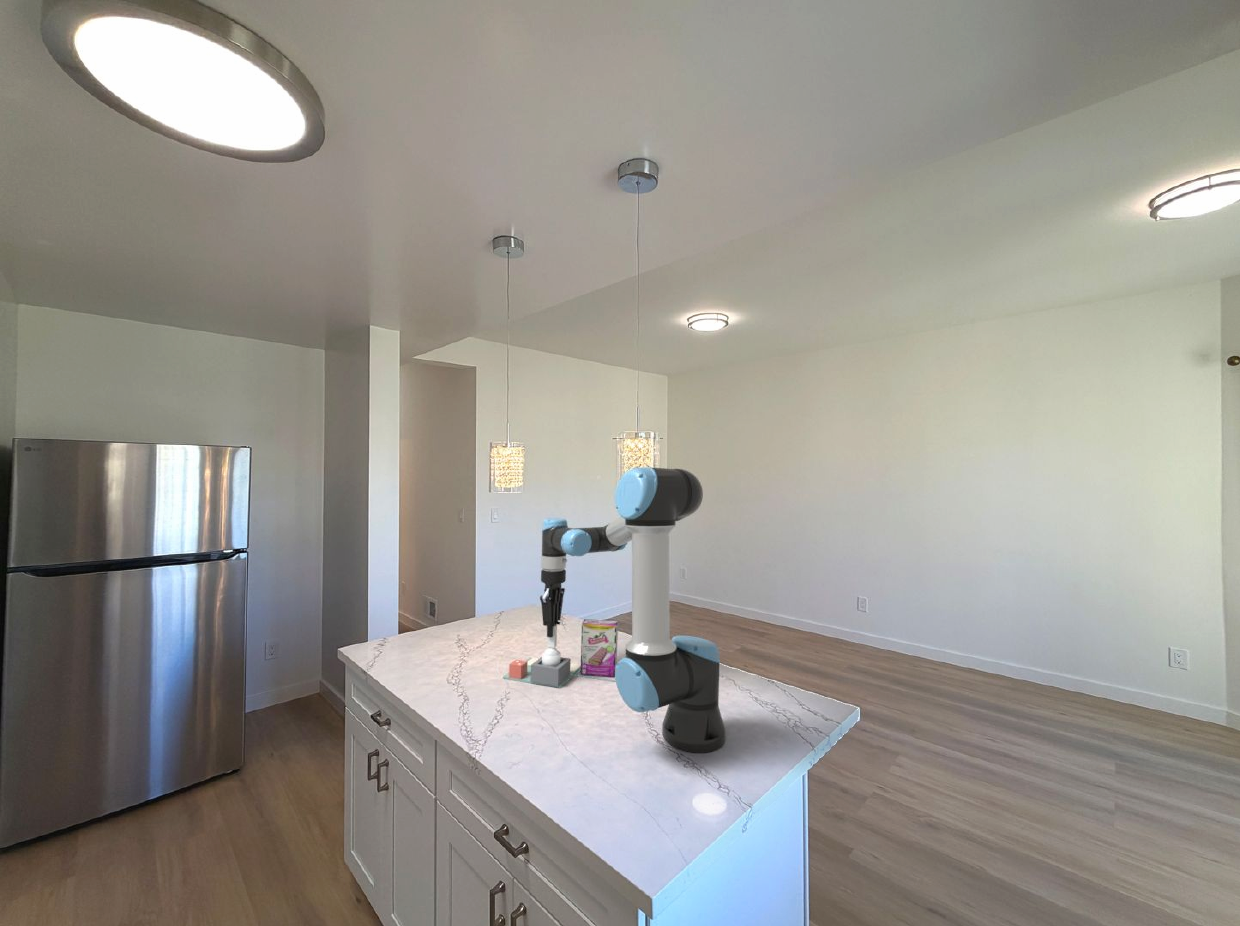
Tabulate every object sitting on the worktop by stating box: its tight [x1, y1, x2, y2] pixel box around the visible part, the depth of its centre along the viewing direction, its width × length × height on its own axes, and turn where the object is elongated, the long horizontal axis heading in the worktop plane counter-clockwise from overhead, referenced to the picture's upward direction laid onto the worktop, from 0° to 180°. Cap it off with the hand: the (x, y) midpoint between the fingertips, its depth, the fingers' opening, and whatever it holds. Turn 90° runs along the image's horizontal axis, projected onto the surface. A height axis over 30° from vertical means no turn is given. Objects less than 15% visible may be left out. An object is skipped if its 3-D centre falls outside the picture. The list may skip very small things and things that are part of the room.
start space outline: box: [573, 668, 616, 683], centre depth 157 cm, size 8×14×1 cm, turn 72°
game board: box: [502, 656, 581, 689], centre depth 157 cm, size 18×19×6 cm
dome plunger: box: [541, 647, 562, 667], centre depth 151 cm, size 6×6×6 cm
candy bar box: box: [580, 618, 619, 678], centre depth 157 cm, size 11×5×16 cm, turn 84°
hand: (551, 646), depth 151 cm, fingers closed
